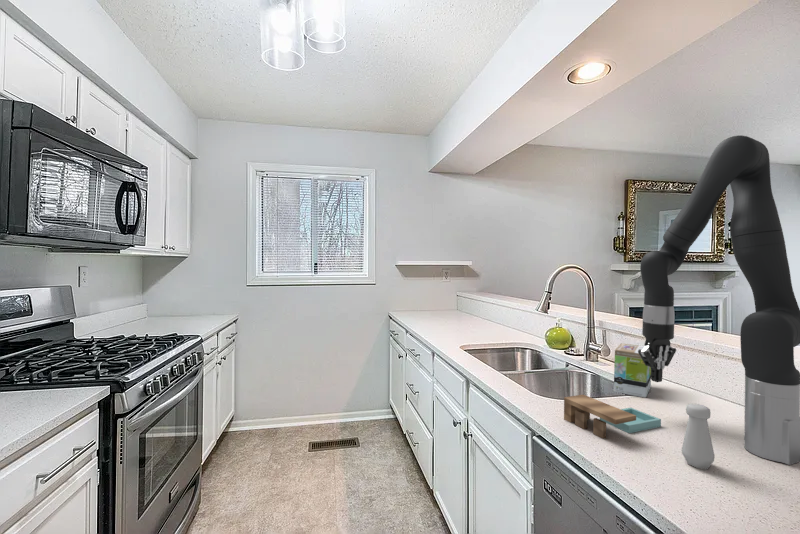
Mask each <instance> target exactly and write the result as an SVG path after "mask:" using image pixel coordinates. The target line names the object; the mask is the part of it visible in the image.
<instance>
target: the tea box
mask: <svg viewBox="0 0 800 534" xmlns="http://www.w3.org/2000/svg"><path fill="white" fill-rule="evenodd" d="M644 347H645V345H638V344H630V343H620V344H619V345H618V346H617V347H616V348H615V350H614V366H613V367H614V369H613V371H614V374H613V392H614V393H619V394H623V395H629V396H634V397H640V398H645V399H646V398H647V396H648V394H649V391H650V389H651V387H652V380H651V367H649V366H646V365H645V363H644V362H643V360H642V358H641V356H640V355H639V353H638V350H639V349H641V350H643V348H644Z"/></svg>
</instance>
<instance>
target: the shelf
mask: <svg viewBox="0 0 800 534" xmlns="http://www.w3.org/2000/svg"><path fill="white" fill-rule="evenodd" d="M621 409H622V408H621ZM621 409H620V408H618V407H616V406H614V405H610V404H608V403H605V402H603V401H601V400H597V399H596V398H593V397H590V396H588V395H585V394H579V395H578V394H577V395H576V394H575V395H571V396H564V397H563V420H565V421H566V422H569V423H570V424H572V423H574V426H577V427H578V428H580V429H583V430H586V429H587V428H588V426H587V425H588V420H591V415H594V416H596V417H595V418H593V419H592V422H593V424H592V426H593V429H592V431H593V432H592V433H593V435H595V436H597V437H598V438H601V439H602V440H604V439H607V423H606V422H604V421H602V420H600V418H602V419H604V420H606V421H609V422H611V423H613V424H621V423H626V422H630V421H635V420H636V415H634V414H631V413H629V412H626V411H623V410H621ZM597 417H598V418H597Z"/></svg>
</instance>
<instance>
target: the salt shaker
mask: <svg viewBox="0 0 800 534" xmlns="http://www.w3.org/2000/svg"><path fill="white" fill-rule="evenodd" d="M685 412H686V415H688V419H687V424H686V429H685V433H684V437H683V441H682V445H681V455H683V457H684V460H685V461H686V463H687V464H688V465H689V466H691V465H692V466H691V467H693V466H694V467H693V468H695V467H696V469H699V468H702V470H708V469H709V468H710V467H711V465H712V464H713V463H714V462H715V451H714V446H713V442H712V437H711V432H710V426H709V422H708V420H709V419H710V418H711V414H712V413H711V409H710V408H709V407H708V406H707V405H703V404H700V403H688V404H687V405H686V408H685Z"/></svg>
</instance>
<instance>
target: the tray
mask: <svg viewBox="0 0 800 534" xmlns="http://www.w3.org/2000/svg"><path fill="white" fill-rule="evenodd" d="M621 410H623V411H626V412H629V413H631V414H634V415H636V420H635V421H630V422H626V423H621V424H613V423H611V422H609V421H606V420H604V419H602V418H600V417H599V419H600V420H602V421H604V422H606V425H609V426H611V427H613V428H616V429H618V430H621V431H622V432H624V433H628V434H632V433H636V432H641V431H646V430H650V429H651V430H652V429H656V428H660V427H662V418H658V417H656V416H654V415H651V414H650V413H649V414H648V413H645V412H643V411H640V410H638V409H636V408H633V407H625V408H621Z"/></svg>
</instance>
